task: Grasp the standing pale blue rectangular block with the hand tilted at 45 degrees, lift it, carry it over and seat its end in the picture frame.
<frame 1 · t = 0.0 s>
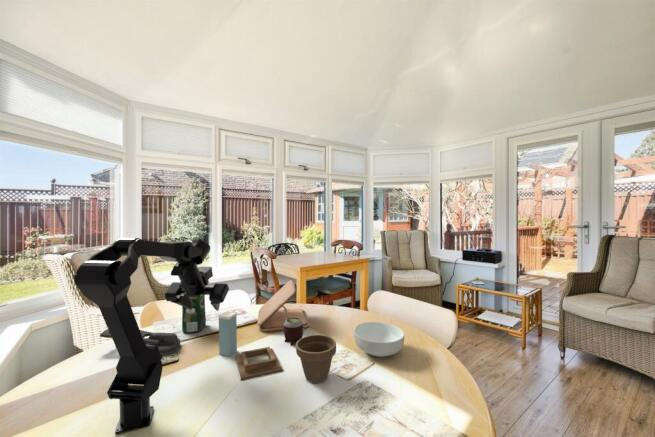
hand: (204, 309, 97), 15 cm above the table, tool tilted 35°, fingers open, 9 cm apart
picture frame: (258, 363, 92), on the table
zipper pull: (142, 349, 102), on the table
coffee jar: (194, 329, 118), on the table
cereal bowl: (378, 352, 100), on the table
mate gourd: (292, 342, 106), on the table
pale blue rectangular block: (228, 352, 98), on the table
case: (283, 322, 126), on the table
flower pot: (316, 378, 84), on the table
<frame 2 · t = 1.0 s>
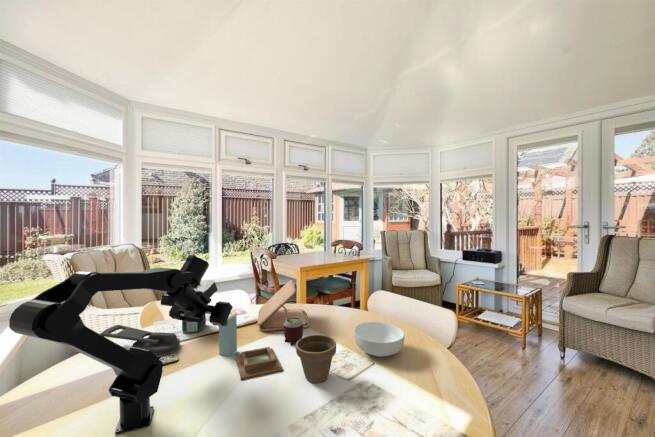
hand: (214, 322, 92), 13 cm above the table, tool tilted 45°, fingers open, 9 cm apart
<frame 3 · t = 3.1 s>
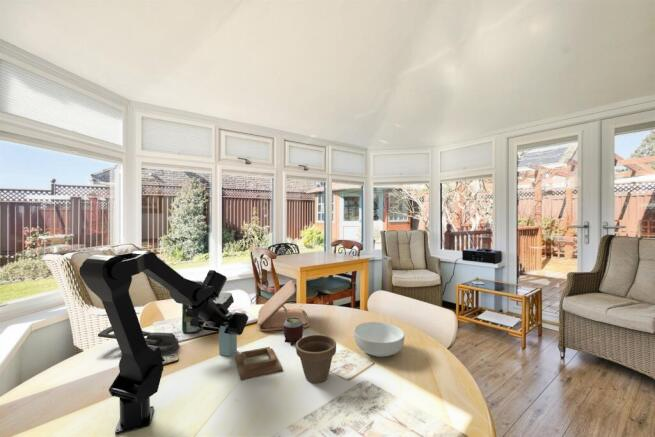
hand: (230, 331, 100), 7 cm above the table, tool tilted 45°, fingers closed on pale blue rectangular block, 4 cm apart
pale blue rectangular block: (228, 352, 98), on the table, touching gripper
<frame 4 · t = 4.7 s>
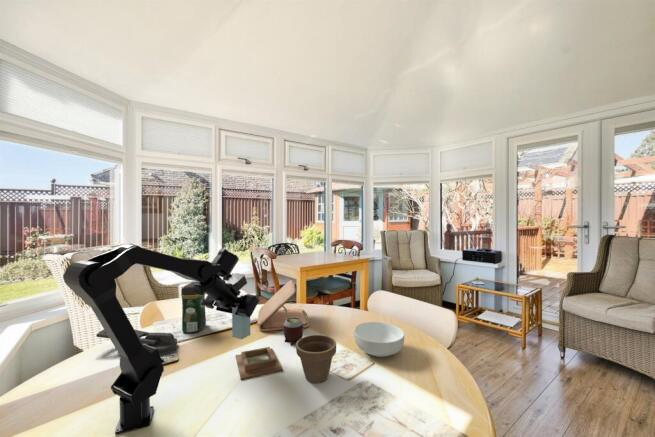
hand: (244, 314, 97), 13 cm above the table, tool tilted 45°, fingers closed on pale blue rectangular block, 4 cm apart
pale blue rectangular block: (241, 335, 96), point 7 cm above the table, touching gripper
when the fingers open (8 cm above the table, at t = 6.7 s): pale blue rectangular block stays where it is, resting on picture frame.
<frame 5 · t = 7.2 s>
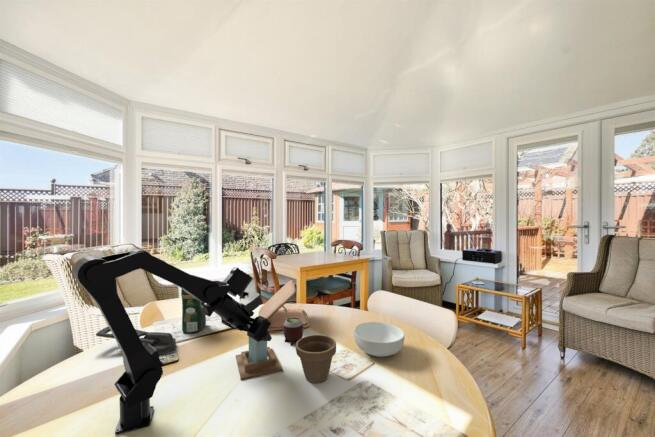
hand: (261, 335, 92), 9 cm above the table, tool tilted 45°, fingers open, 9 cm apart
pale blue rectangular block: (258, 361, 91), point 1 cm above the table, touching picture frame
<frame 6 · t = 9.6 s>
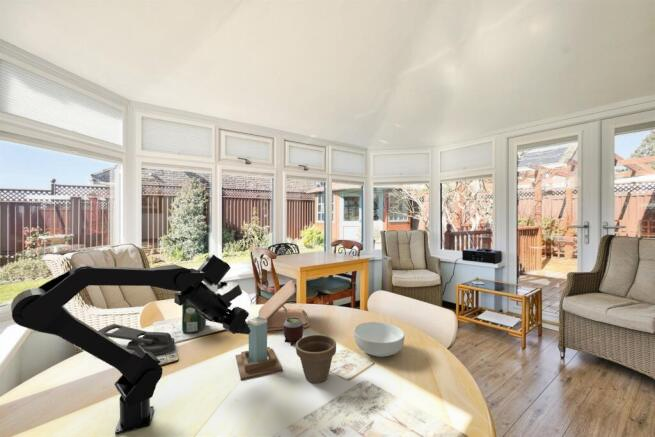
hand: (240, 328, 87), 13 cm above the table, tool tilted 45°, fingers open, 9 cm apart
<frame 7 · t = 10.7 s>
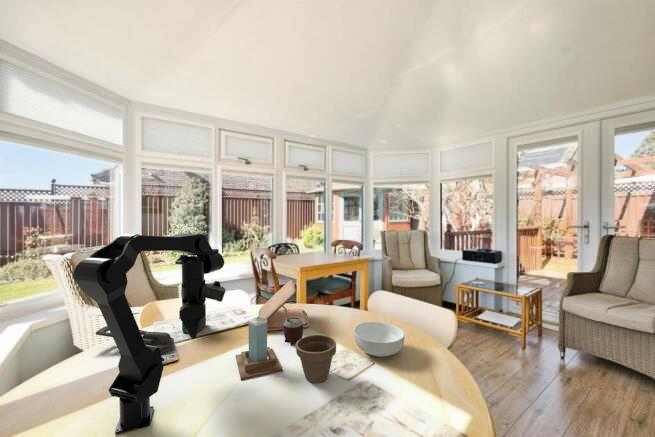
hand: (194, 331, 84), 13 cm above the table, tool pointing down, fingers open, 9 cm apart
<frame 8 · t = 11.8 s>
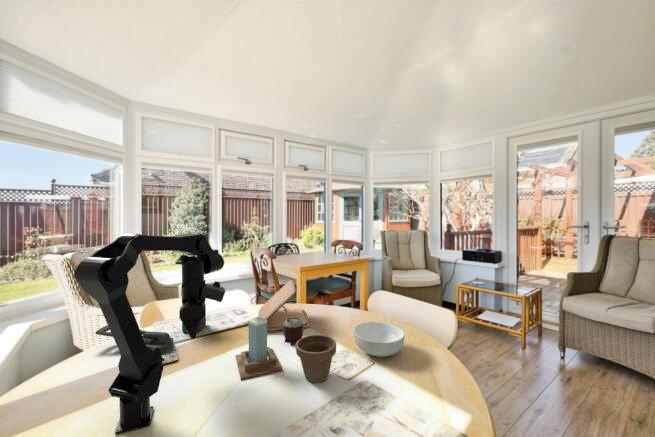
hand: (194, 332, 84), 13 cm above the table, tool pointing down, fingers open, 9 cm apart
at the end: pale blue rectangular block 0.0 cm off-centre on the picture frame, point 0.8 cm above the picture frame's base; pale blue rectangular block tilted 0°; the gripper is holding nothing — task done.
